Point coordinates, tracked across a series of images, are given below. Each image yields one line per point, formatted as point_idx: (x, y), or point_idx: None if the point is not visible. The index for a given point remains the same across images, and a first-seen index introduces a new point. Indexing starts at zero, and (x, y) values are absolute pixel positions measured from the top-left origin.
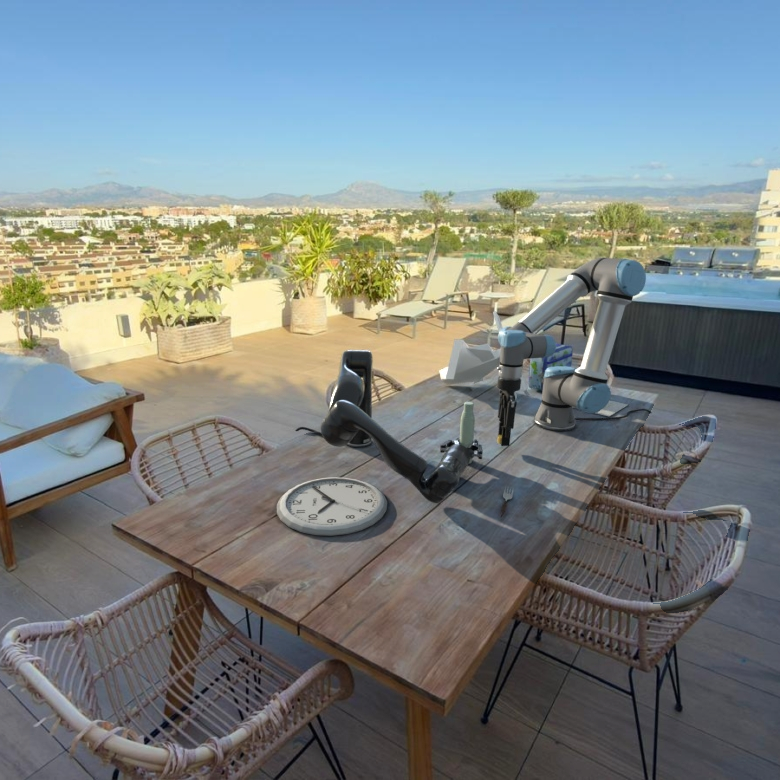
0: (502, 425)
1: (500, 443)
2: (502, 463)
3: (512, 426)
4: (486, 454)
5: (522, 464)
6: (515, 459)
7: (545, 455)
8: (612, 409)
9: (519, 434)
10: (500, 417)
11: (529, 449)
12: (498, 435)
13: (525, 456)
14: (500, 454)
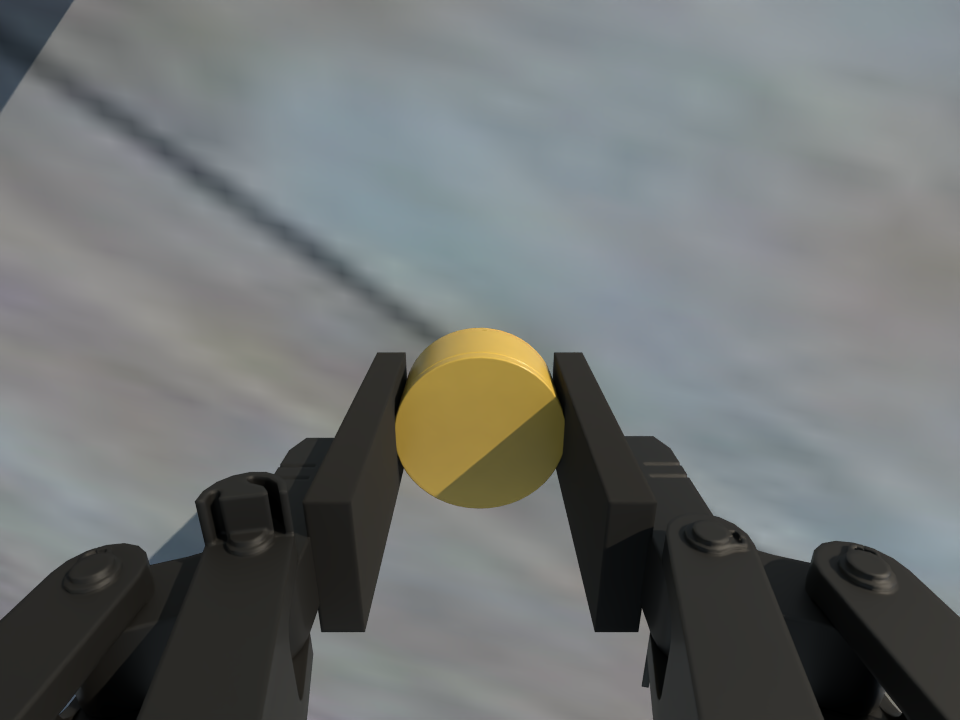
0: (592, 518)
1: (420, 355)
2: (138, 279)
3: (66, 710)
4: (356, 149)
5: (158, 459)
6: (261, 427)
7: (376, 664)
8: None
9: None
10: (679, 606)
11: (496, 589)
12: (525, 375)
13: None
14: (369, 313)
